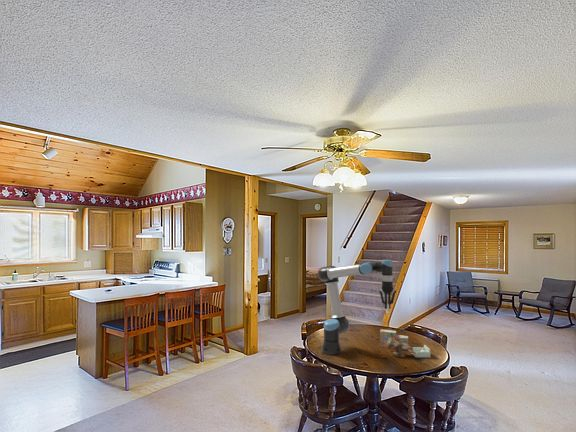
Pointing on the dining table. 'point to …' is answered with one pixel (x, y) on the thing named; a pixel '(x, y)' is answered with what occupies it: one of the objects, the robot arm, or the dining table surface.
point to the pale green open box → (421, 354)
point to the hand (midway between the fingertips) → (387, 313)
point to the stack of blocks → (391, 334)
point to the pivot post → (399, 351)
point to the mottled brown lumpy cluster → (393, 342)
